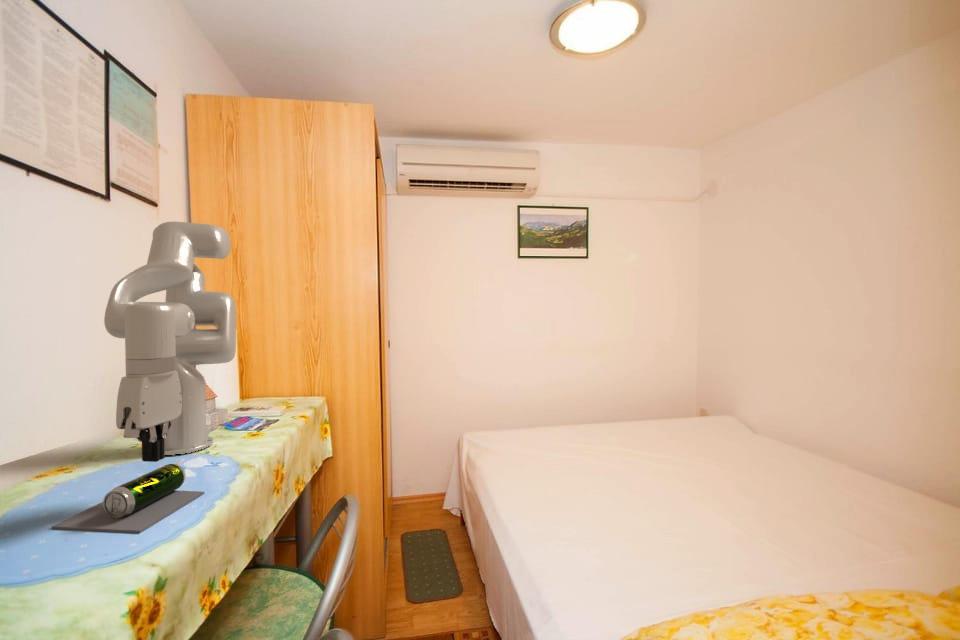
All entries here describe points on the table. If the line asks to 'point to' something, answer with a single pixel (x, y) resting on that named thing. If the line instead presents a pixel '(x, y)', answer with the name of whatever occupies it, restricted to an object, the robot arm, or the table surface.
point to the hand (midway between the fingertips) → (153, 459)
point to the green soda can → (143, 490)
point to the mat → (133, 522)
